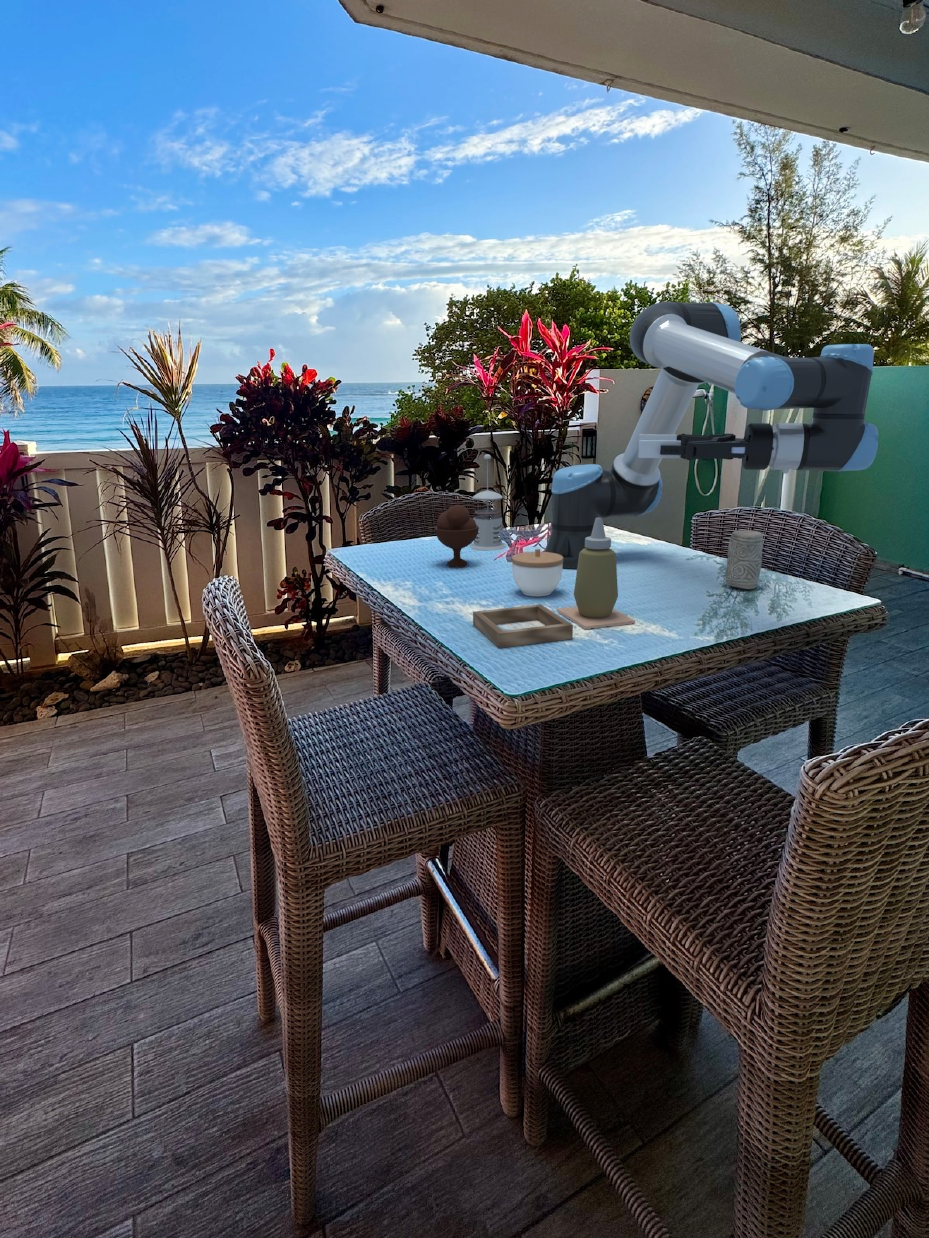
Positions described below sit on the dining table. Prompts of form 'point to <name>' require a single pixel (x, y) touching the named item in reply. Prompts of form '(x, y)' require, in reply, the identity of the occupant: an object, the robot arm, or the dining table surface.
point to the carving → (744, 559)
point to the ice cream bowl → (456, 532)
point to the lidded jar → (537, 572)
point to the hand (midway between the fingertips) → (638, 445)
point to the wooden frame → (551, 632)
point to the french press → (488, 521)
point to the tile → (589, 622)
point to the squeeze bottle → (596, 575)
